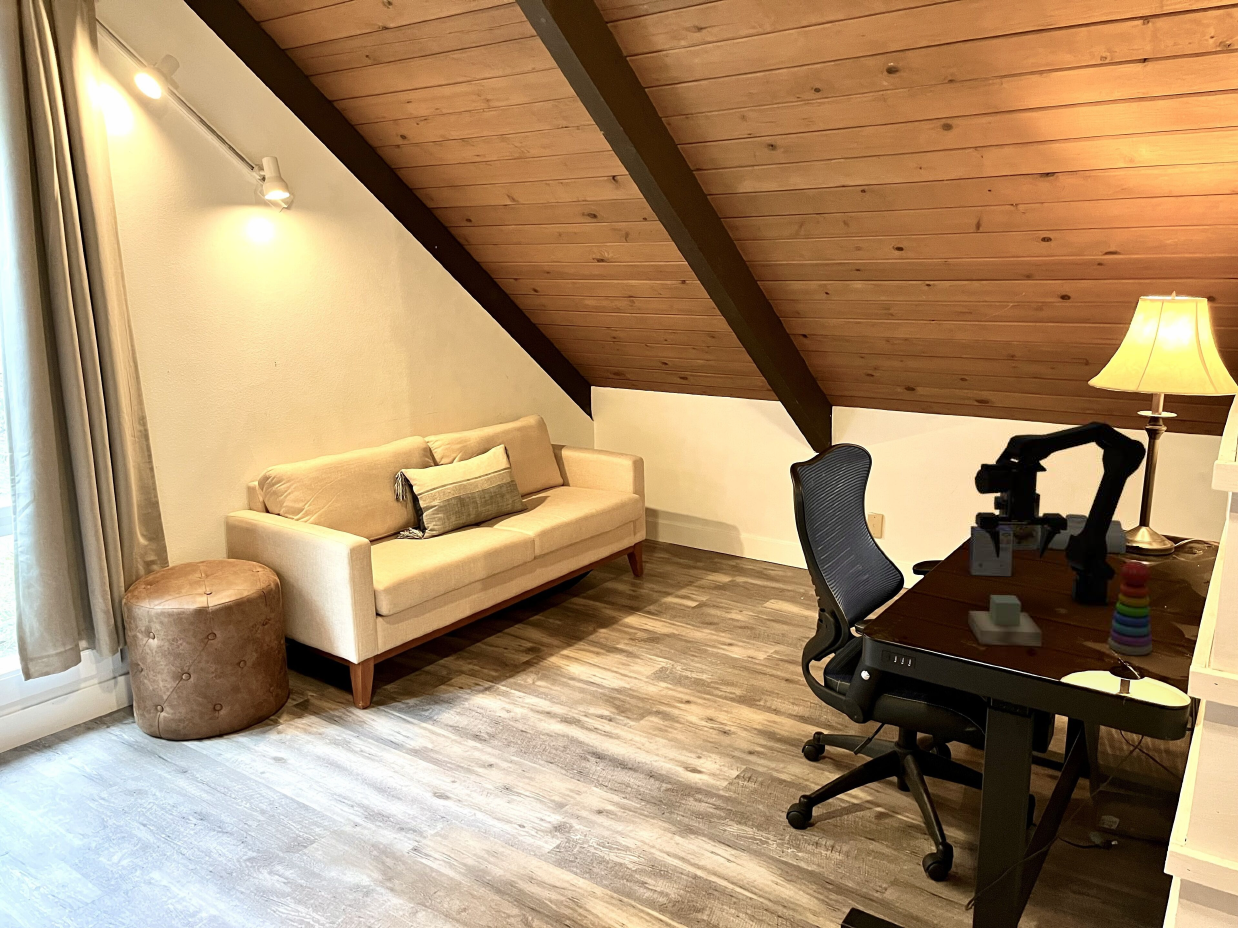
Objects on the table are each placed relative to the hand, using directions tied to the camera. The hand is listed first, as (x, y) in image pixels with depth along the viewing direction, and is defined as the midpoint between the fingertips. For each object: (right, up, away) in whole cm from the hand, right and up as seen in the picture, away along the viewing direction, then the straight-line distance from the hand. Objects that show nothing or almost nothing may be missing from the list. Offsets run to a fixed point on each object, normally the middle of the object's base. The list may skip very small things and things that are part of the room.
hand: (1018, 557), depth 211 cm
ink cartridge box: (+5, -7, +28) cm, 29 cm away
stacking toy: (+12, -17, -24) cm, 31 cm away
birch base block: (-9, -15, -14) cm, 23 cm away
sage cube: (-9, -12, -15) cm, 21 cm away
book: (+41, -2, +51) cm, 65 cm away
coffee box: (+21, -2, +50) cm, 54 cm away
